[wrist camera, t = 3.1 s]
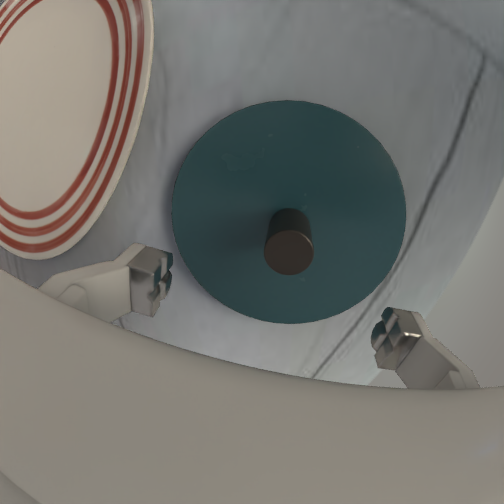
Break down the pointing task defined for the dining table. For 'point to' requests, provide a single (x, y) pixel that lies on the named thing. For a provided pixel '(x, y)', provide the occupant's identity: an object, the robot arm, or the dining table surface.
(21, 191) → the dinner plate
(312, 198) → the tin lid
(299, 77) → the dining table surface
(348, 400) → the robot arm
